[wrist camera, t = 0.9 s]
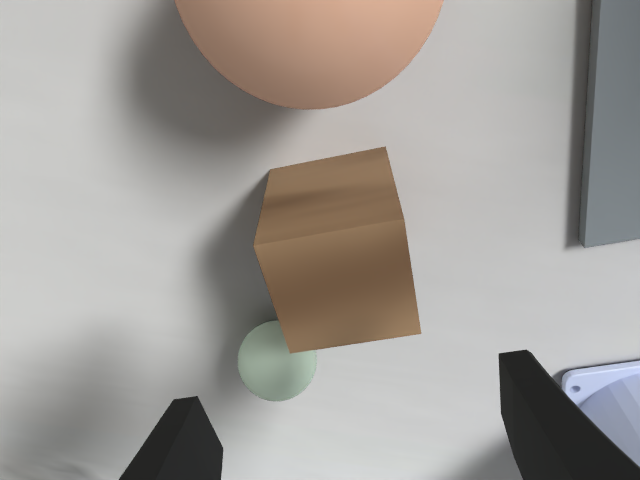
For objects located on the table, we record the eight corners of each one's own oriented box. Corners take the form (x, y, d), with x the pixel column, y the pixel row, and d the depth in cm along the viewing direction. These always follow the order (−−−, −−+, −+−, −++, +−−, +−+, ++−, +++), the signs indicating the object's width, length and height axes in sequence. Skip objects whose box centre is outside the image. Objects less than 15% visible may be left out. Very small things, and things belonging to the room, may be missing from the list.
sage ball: (324, 354, 25) (323, 412, 22) (255, 364, 25) (245, 423, 22) (308, 298, 23) (305, 354, 20) (233, 311, 24) (220, 367, 21)
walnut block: (401, 244, 22) (421, 333, 17) (297, 262, 22) (289, 353, 18) (385, 145, 19) (403, 218, 15) (270, 168, 20) (253, 245, 15)
